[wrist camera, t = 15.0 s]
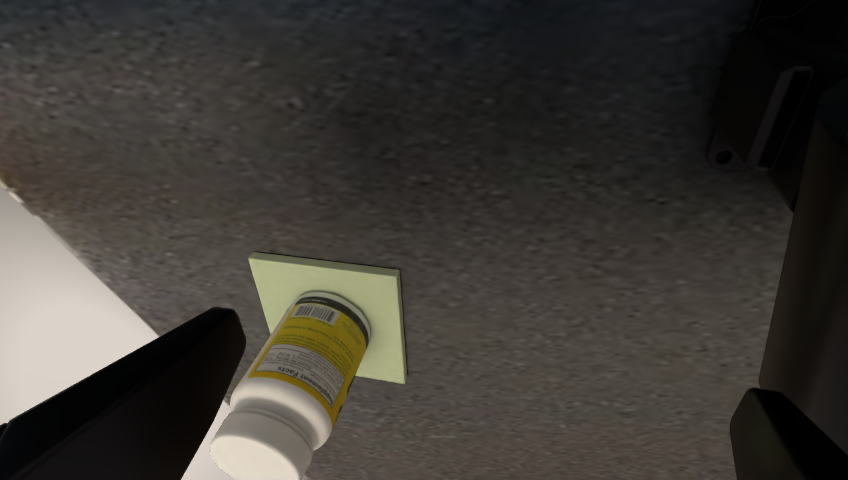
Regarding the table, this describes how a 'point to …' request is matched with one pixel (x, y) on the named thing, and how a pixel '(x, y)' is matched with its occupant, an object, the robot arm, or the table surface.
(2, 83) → the table surface
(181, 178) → the table surface
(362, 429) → the table surface
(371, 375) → the mat
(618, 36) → the table surface
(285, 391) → the supplement bottle
